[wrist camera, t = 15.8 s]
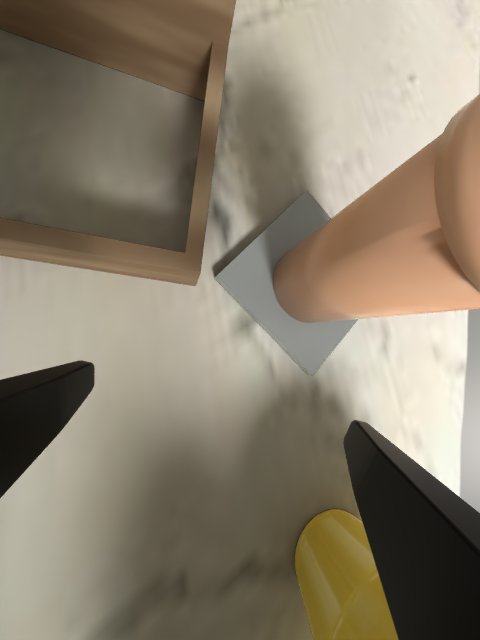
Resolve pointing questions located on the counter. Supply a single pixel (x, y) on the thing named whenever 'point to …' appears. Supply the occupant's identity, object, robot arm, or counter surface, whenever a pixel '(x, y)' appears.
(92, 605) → the counter surface
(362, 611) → the plant pot
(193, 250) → the wooden box frame
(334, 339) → the slate tile
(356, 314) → the terracotta pot
